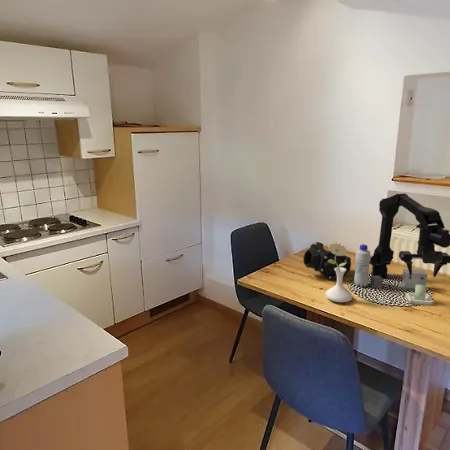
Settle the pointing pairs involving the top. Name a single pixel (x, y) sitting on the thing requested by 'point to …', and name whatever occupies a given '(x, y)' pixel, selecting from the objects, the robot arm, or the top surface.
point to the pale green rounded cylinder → (420, 292)
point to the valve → (324, 260)
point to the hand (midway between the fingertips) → (422, 276)
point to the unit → (413, 279)
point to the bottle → (362, 266)
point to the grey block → (376, 281)
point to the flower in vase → (338, 276)
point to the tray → (419, 302)
